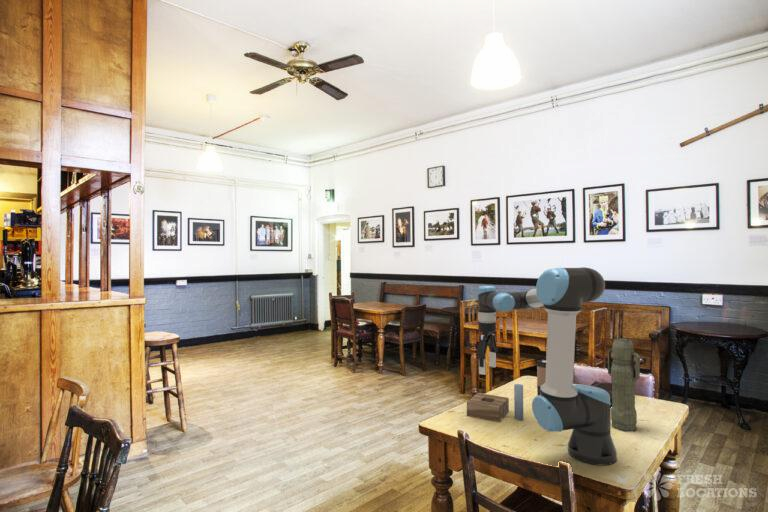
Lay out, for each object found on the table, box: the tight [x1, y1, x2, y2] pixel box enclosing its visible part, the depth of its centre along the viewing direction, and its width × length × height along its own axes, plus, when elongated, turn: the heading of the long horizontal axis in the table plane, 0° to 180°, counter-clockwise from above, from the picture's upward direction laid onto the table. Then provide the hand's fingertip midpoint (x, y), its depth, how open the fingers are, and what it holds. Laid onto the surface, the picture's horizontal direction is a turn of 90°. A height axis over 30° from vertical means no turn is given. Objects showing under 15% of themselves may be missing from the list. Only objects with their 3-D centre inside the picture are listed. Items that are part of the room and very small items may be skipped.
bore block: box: [466, 392, 510, 423], centre depth 187 cm, size 14×14×6 cm
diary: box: [589, 380, 612, 407], centre depth 204 cm, size 19×25×5 cm
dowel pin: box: [513, 383, 524, 421], centre depth 181 cm, size 4×4×14 cm
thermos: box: [606, 337, 641, 432], centre depth 171 cm, size 9×12×35 cm
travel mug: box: [536, 358, 546, 396], centre depth 198 cm, size 8×8×20 cm
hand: (487, 370), depth 187 cm, fingers open, 13 cm apart
